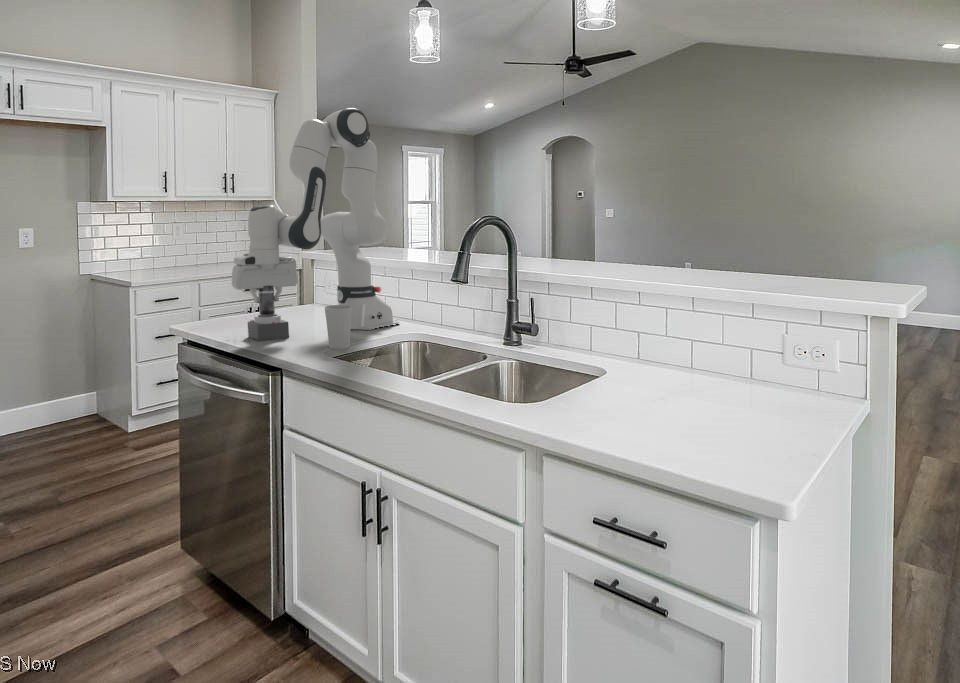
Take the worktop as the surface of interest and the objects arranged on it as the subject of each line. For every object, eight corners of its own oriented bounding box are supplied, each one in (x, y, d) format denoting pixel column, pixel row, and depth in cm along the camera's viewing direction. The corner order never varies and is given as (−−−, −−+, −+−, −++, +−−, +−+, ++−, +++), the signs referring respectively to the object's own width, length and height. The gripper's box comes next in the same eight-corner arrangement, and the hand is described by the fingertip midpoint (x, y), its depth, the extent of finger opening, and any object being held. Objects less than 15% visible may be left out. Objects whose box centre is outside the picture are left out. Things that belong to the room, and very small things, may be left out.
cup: (320, 347, 207) (318, 307, 205) (339, 342, 214) (338, 304, 211) (339, 350, 203) (338, 309, 200) (358, 346, 209) (357, 306, 207)
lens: (271, 312, 222) (270, 282, 221) (277, 313, 219) (276, 284, 217) (256, 313, 219) (255, 283, 218) (262, 315, 216) (261, 285, 214)
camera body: (278, 333, 227) (277, 312, 226) (289, 337, 220) (288, 315, 219) (248, 337, 221) (247, 315, 219) (259, 341, 214) (258, 319, 213)
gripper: (291, 256, 225) (293, 298, 227) (228, 258, 212) (231, 303, 215) (300, 257, 220) (301, 300, 223) (236, 259, 207) (238, 305, 210)
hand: (266, 302), depth 218 cm, fingers closed on lens, 5 cm apart
